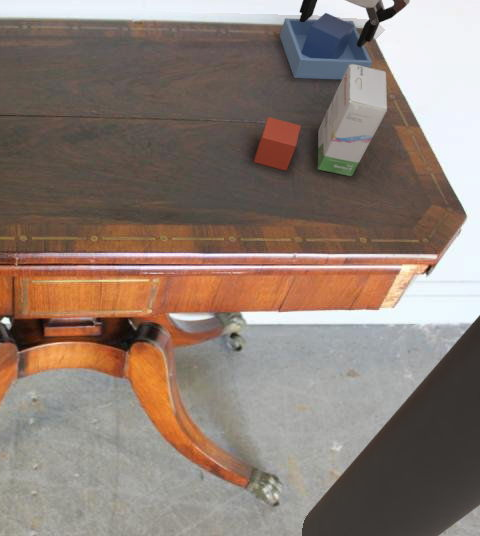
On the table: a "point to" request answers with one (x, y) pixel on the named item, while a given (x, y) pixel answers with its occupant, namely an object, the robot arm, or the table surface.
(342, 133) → the ink box
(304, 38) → the blue bin
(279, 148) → the red block
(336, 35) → the blue block
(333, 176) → the table surface
